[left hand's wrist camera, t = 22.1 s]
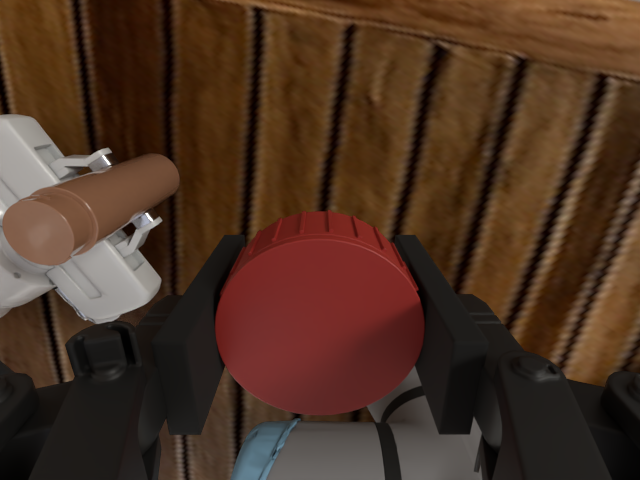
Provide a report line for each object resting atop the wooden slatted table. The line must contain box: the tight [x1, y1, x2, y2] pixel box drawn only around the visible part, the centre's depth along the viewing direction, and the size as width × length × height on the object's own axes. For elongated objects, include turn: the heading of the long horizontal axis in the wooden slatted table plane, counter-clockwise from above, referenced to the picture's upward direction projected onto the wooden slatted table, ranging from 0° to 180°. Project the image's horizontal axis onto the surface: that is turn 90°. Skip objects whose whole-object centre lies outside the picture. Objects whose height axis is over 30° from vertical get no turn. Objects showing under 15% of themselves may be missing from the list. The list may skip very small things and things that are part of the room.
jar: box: [2, 153, 180, 266], centre depth 31 cm, size 5×5×18 cm
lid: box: [215, 210, 425, 415], centre depth 11 cm, size 6×6×2 cm
